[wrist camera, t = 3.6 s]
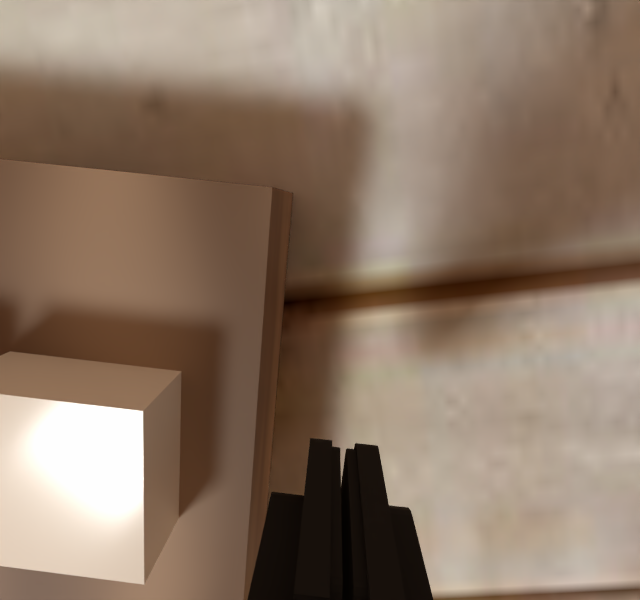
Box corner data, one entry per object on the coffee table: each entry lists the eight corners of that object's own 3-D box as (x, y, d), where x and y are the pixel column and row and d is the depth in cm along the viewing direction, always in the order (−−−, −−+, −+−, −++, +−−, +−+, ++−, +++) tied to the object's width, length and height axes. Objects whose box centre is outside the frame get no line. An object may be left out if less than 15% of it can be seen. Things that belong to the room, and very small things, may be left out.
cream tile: (181, 371, 10) (143, 411, 8) (178, 517, 11) (144, 584, 9) (10, 351, 10) (-70, 385, 8) (23, 498, 11) (-44, 560, 9)
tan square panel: (292, 193, 13) (272, 187, 9) (264, 544, 16) (239, 653, 12) (-94, 153, 13) (-279, 129, 9) (-44, 505, 16) (-163, 599, 12)
